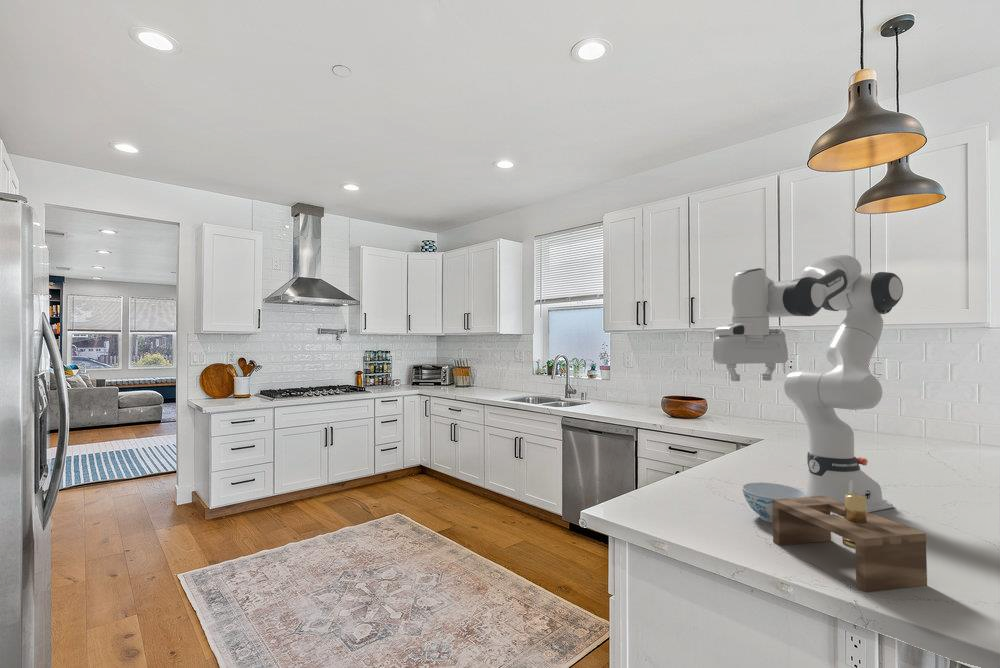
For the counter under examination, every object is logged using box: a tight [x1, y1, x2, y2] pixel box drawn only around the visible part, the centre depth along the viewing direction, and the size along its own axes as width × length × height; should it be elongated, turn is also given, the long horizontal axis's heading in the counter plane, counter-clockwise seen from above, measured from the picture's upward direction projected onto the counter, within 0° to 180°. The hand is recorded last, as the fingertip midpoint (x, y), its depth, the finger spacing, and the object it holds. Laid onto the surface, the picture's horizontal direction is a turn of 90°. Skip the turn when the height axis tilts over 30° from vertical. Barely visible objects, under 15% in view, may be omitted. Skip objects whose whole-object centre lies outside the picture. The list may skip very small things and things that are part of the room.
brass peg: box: [842, 494, 867, 550], centre depth 102 cm, size 5×5×10 cm
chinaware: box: [741, 482, 806, 524], centre depth 130 cm, size 15×15×8 cm
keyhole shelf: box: [772, 496, 928, 593], centre depth 105 cm, size 24×14×10 cm, turn 10°
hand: (751, 380), depth 130 cm, fingers open, 8 cm apart
